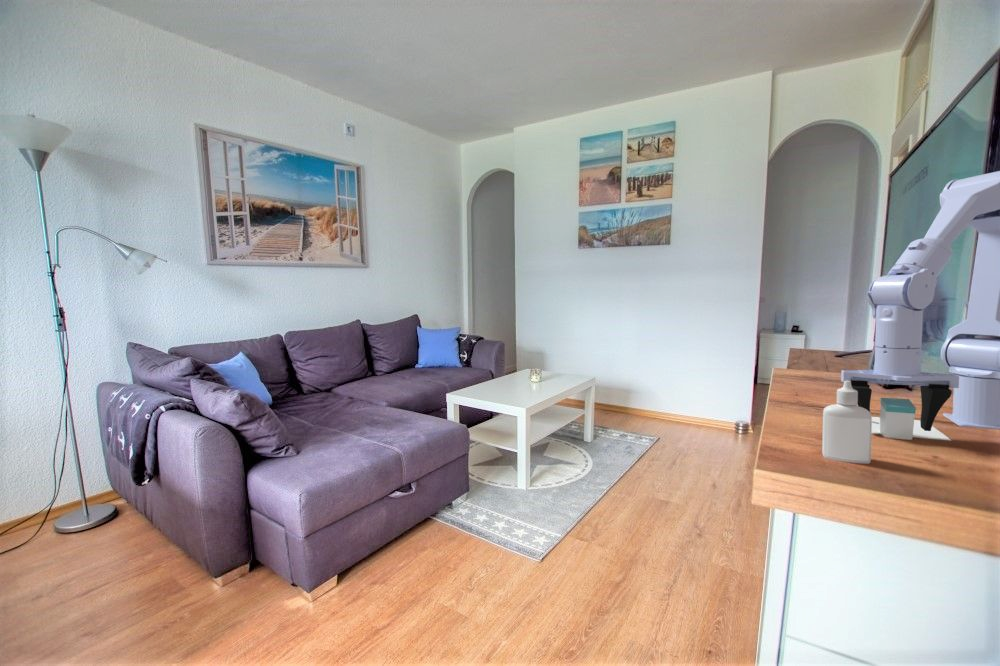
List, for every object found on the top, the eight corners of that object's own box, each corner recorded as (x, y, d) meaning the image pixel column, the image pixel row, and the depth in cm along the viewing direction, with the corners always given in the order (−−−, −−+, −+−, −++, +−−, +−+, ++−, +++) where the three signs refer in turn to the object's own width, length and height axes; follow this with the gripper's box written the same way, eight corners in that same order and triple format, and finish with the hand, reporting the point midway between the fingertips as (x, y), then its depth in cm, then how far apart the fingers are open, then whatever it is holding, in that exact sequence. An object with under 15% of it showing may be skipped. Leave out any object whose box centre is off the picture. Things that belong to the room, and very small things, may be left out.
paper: (925, 422, 81) (925, 420, 81) (951, 442, 70) (951, 440, 70) (843, 416, 87) (843, 414, 87) (857, 433, 76) (857, 431, 76)
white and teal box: (905, 431, 74) (908, 399, 73) (912, 441, 71) (915, 408, 70) (878, 429, 76) (880, 397, 75) (883, 439, 73) (886, 406, 72)
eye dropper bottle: (861, 469, 62) (863, 386, 61) (817, 457, 67) (818, 380, 66) (875, 462, 64) (877, 382, 63) (831, 451, 69) (833, 376, 68)
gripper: (847, 348, 73) (845, 428, 74) (969, 351, 65) (965, 439, 67) (839, 344, 79) (837, 417, 80) (950, 345, 72) (946, 426, 73)
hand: (894, 426), depth 74 cm, fingers open, 7 cm apart
